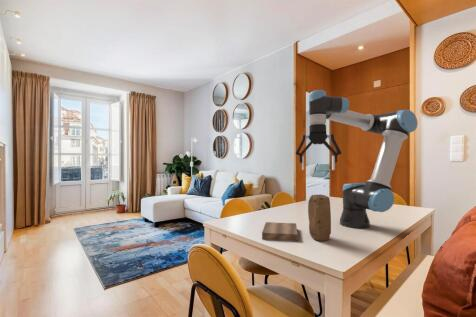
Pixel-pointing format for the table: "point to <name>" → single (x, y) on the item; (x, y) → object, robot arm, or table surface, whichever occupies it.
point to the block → (319, 217)
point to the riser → (280, 231)
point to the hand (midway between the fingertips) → (318, 169)
